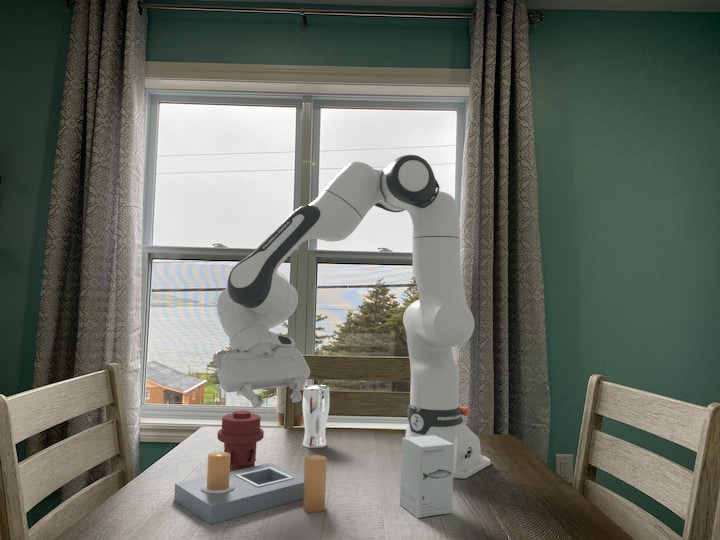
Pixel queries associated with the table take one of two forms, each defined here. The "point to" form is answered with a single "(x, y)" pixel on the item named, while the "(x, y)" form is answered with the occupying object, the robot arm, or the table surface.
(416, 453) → the supplement box
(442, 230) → the robot arm
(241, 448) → the mechanical component
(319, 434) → the beer glass
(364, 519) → the table surface
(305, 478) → the orange smooth rounded part
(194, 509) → the grey peg board
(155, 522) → the table surface
